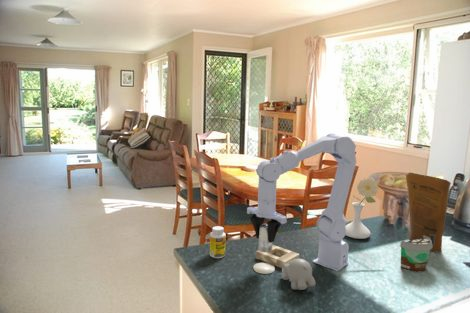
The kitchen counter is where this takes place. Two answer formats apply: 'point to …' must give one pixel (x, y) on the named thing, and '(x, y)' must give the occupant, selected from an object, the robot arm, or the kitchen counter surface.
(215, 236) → the supplement bottle
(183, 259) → the kitchen counter surface
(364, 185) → the flower in vase
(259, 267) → the coaster
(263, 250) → the end plug
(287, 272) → the round bodied animal figurine
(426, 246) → the food container
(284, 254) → the beige flat block
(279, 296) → the kitchen counter surface
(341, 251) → the robot arm
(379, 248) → the kitchen counter surface
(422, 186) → the pancake mix bag
